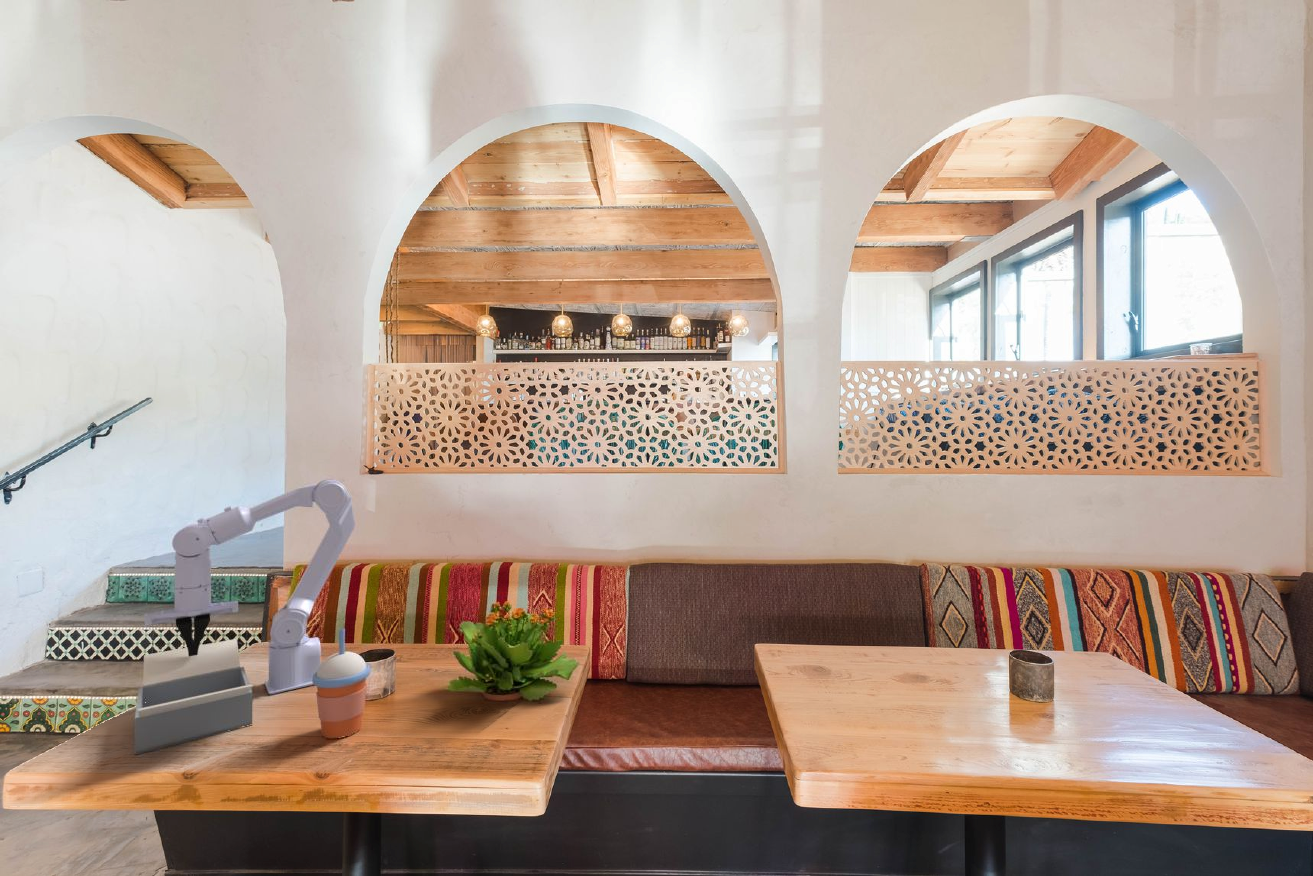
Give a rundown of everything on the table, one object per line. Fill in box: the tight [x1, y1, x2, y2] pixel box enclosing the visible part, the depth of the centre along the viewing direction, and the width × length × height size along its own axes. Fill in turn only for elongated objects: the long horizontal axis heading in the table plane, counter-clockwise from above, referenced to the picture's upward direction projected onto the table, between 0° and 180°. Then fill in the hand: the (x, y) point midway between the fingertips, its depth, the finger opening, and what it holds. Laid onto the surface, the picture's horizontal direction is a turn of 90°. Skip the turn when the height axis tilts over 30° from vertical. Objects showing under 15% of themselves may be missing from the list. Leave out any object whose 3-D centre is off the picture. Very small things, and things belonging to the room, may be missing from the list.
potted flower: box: [446, 600, 580, 702], centre depth 121 cm, size 25×24×18 cm
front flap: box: [138, 683, 254, 718], centre depth 100 cm, size 15×8×1 cm, turn 130°
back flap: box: [142, 638, 241, 687], centre depth 117 cm, size 15×8×1 cm, turn 130°
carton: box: [134, 666, 253, 756], centre depth 108 cm, size 16×16×6 cm
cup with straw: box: [312, 628, 371, 739], centre depth 105 cm, size 9×9×18 cm
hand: (193, 654), depth 117 cm, fingers closed
